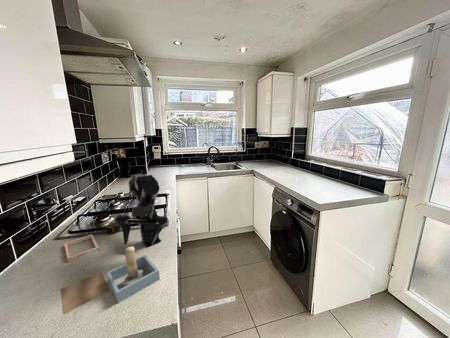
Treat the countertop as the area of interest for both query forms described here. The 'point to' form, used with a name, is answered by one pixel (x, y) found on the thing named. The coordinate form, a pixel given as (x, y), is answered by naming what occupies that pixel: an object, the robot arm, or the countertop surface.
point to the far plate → (83, 291)
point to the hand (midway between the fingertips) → (138, 244)
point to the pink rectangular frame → (77, 242)
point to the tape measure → (112, 228)
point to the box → (134, 286)
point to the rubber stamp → (132, 267)
